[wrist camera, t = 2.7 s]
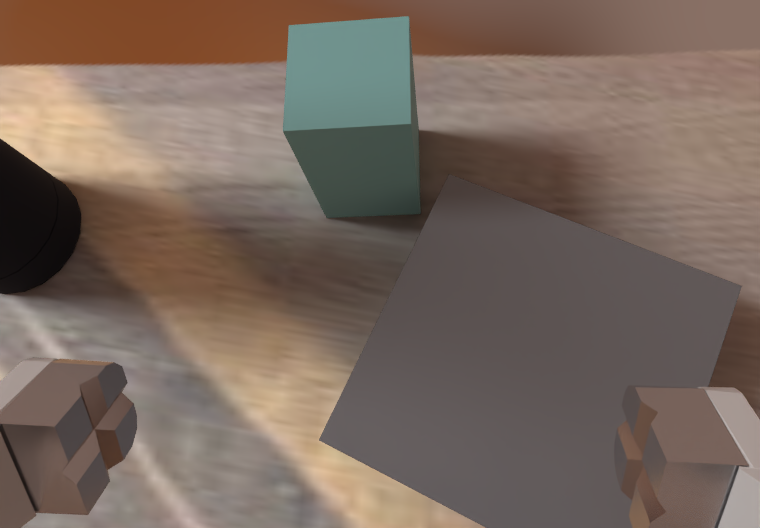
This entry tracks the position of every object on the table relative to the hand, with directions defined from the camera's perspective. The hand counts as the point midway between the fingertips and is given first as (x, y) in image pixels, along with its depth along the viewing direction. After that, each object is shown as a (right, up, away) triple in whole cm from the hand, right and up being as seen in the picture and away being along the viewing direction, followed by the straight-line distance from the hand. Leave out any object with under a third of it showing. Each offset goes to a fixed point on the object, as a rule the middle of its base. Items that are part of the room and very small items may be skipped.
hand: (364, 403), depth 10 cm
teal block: (0, +7, +19) cm, 20 cm away
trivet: (+6, -2, +15) cm, 17 cm away
